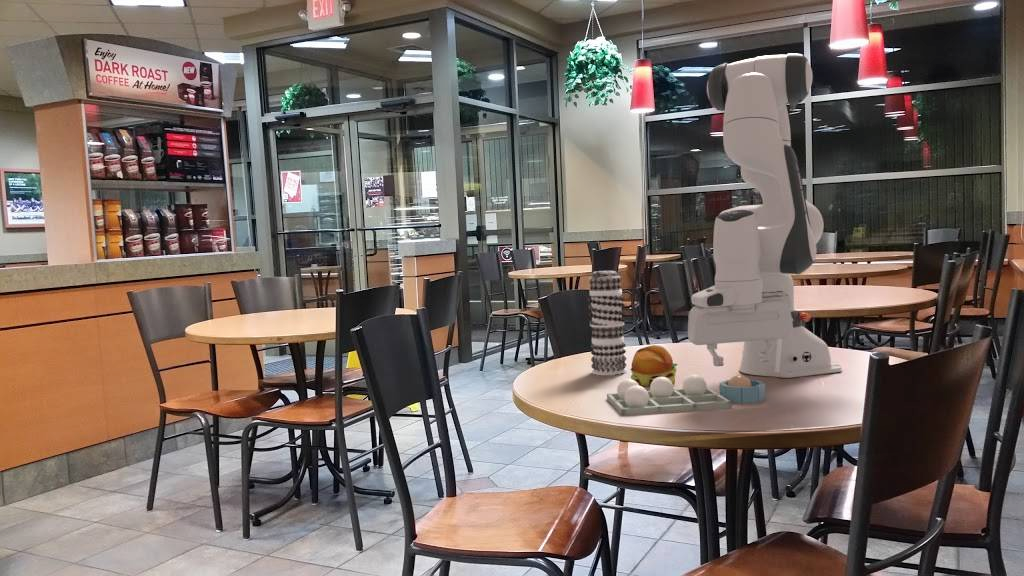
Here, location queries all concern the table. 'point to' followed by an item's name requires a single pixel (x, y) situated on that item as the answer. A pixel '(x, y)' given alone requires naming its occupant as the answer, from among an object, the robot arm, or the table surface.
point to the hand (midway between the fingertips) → (741, 363)
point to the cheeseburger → (652, 365)
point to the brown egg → (739, 381)
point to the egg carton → (666, 397)
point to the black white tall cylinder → (606, 323)
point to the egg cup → (743, 392)
